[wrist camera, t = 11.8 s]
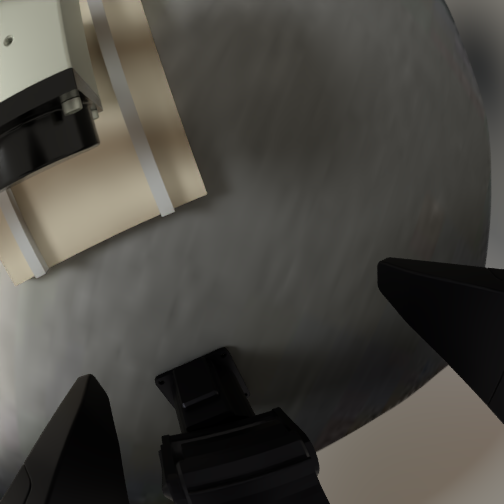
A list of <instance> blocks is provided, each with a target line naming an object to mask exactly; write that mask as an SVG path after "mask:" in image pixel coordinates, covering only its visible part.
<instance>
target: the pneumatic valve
mask: <svg viewBox="0 0 504 504" xmlns="http://www.w3.org/2000/svg"><path fill="white" fill-rule="evenodd" d="M102 111H103V108H102V104H101V100H100V96H99V93H98V89H97V85H96V81H95V77H94V73H93V68H92V64H91V60H90V55H89V51H88V46H87V42H86V37H85V32H84V27H83V21H82V16H81V10H80V4H79V0H0V193H1V192H3V191H5V190H7V189H9V188H11V187H13V186H15V185H17V184H19V183H21V182H23V181H25V180H27V179H29V178H31V177H33V176H35V175H38V174H40V173H42V172H44V171H46V170H48V169H50V168H52V167H54V166H56V165H59V164H61V163H63V162H65V161H67V160H69V159H72V158H74V157H76V156H78V155H80V154H83V153H85V152H87V151H89V150H91V149H93V148H95V147H97V146H99V145H100V139H99V136H98V133H97V129H96V126H95V122H94V120H96V119H98V118H99V115H98V113H99V112H102Z"/></svg>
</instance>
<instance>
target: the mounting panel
mask: <svg viewBox="0 0 504 504" xmlns="http://www.w3.org/2000/svg"><path fill="white" fill-rule="evenodd" d="M79 4H80V10H81V16H82V21H83V27H84V32H85V37H86V42H87V46H88V51H89V55H90V60H91V64H92V68H93V73H94V77H95V81H96V85H97V89H98V93H99V96H100V100H101V104H102V108H103V111H102V112H99V113H98V115H99V118H98V119H96V120H94V122H95V126H96V129H97V133H98V136H99V139H100V145H99V146H97V147H95V148H93V149H91V150H89V151H87V152H85V153H83V154H80V155H78V156H76V157H74V158H72V159H69V160H67V161H65V162H63V163H61V164H59V165H56V166H54V167H52V168H50V169H48V170H46V171H44V172H42V173H40V174H38V175H35V176H33V177H31V178H29V179H27V180H25V181H23V182H21V183H19V184H17V185H15V186H13V187H11V188H9V189H7V190H5V191H3V192H1V193H0V260H1V262H2V264H3V265H4V267H5V269H6V271H7V273H8V274H9V276H10V278H11V280H12V281H13V283H14V285H15V286H17V285H19V284H21V283H23V282H24V281H26V280H28V279H30V278H32V277H34V276H35V277H36V278H38V277H40V276H42V275H44V274H46V272H47V271H48V269H49V268H50V267H52V266H54V265H56V264H58V263H60V262H62V261H64V260H66V259H68V258H70V257H72V256H73V255H75V254H77V253H79V252H81V251H83V250H85V249H87V248H89V247H91V246H93V245H96V244H98V243H100V242H102V241H104V240H106V239H108V238H110V237H112V236H114V235H116V234H118V233H121V232H123V231H125V230H127V229H129V228H131V227H133V226H136V225H138V224H140V223H142V222H144V221H147V220H149V219H151V218H153V217H155V216H158V215H160V214H161V216H162V217H164V216H166V215H168V214H170V213H173V212H175V211H174V208H176V207H178V206H181V205H183V204H185V203H188V202H190V201H192V200H195V199H197V198H199V197H202V196H204V195H207V192H206V189H205V186H204V184H203V181H202V178H201V175H200V173H199V170H198V167H197V164H196V162H195V159H194V156H193V153H192V150H191V148H190V145H189V142H188V139H187V136H186V133H185V131H184V128H183V125H182V122H181V119H180V116H179V113H178V111H177V108H176V105H175V102H174V99H173V96H172V93H171V90H170V87H169V84H168V82H167V79H166V76H165V73H164V70H163V67H162V64H161V61H160V58H159V55H158V52H157V49H156V46H155V43H154V40H153V37H152V34H151V31H150V28H149V25H148V22H147V19H146V15H145V12H144V9H143V6H142V3H141V0H79Z"/></svg>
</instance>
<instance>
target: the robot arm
mask: <svg viewBox="0 0 504 504" xmlns="http://www.w3.org/2000/svg"><path fill="white" fill-rule="evenodd" d="M377 277H378V288H379V290H380V291H381V293H382V294H383V295H384V296H385V297H386V299H387V300H388V301H389V302H390V303H391V305H392V306H393V307H394V308H395V309H396V310H397V312H398V313H399V314H400V315H401V316H402V318H403V319H404V320H405V321H406V322H407V323H408V324H409V325H410V326H411V327H412V328H413V329H414V330H415V331H416V332H417V333H418V334H419V335H420V336H421V337H422V338H423V339H424V340H425V341H426V342H427V343H428V344H429V345H430V346H431V347H432V348H433V349H434V350H435V351H436V352H437V353H438V354H439V355H440V356H441V357H442V358H443V359H444V360H445V361H446V362H447V364H448V365H449V366H450V367H451V368H452V369H453V370H454V371H455V372H456V373H457V374H458V375H459V376H460V377H461V378H462V379H463V380H464V381H465V382H466V383H467V384H468V385H469V387H471V389H472V390H473V391H474V392H475V393H476V394H477V395H478V396H479V397H480V398H481V399H482V401H483V402H484V403H485V404H486V405H487V406H488V407H489V408H490V409H491V410H492V412H493V413H494V414H495V415H496V416H497V417H498V418H499V420H500V421H501V422H502V423H503V424H504V269H495V268H485V267H476V266H467V265H458V264H449V263H439V262H430V261H420V260H411V259H401V258H391V257H389V258H386V259H384V260H382V261H380V262H379V263H378V265H377ZM222 353H225V354H224V355H221V354H222ZM161 380H163V381H162V382H160V381H161ZM155 383H156V385H157V387H158V388H159V389H160V391H161V392H162V393H163V394H164V396H165V397H166V398H167V399H168V401H169V402H170V403H171V404H172V406H173V407H174V408H175V409H176V413H177V417H178V421H179V425H180V429H181V433H182V434H176V435H171V436H169V435H164V436H162V443H163V445H161V450H160V451H159V457H160V462H161V467H162V491H163V494H164V496H166V497H167V498H169V499H171V500H173V501H174V503H175V504H330V503H329V501H328V499H327V497H326V495H325V493H324V491H323V489H322V487H321V485H320V482H319V480H318V477H317V476H318V474H319V462H318V458H317V455H316V452H315V450H314V447H313V445H312V443H311V442H310V440H309V438H308V437H307V436H306V434H305V433H304V432H303V431H302V430H301V429H300V428H299V427H298V426H297V425H296V424H295V423H294V422H293V421H292V420H291V419H290V418H289V417H288V416H287V415H286V414H285V413H284V412H283V410H282V409H281V408H280V407H278V408H274V409H272V411H269V412H265V413H262V414H259V415H255V413H254V412H253V410H252V408H251V406H250V404H249V402H248V400H247V398H248V397H249V396H250V392H249V390H248V388H247V386H246V385H245V383H244V381H243V379H242V377H241V375H240V373H239V371H238V369H237V367H236V365H235V363H234V361H233V359H232V357H231V355H230V353H229V351H228V350H227V348H220V349H217V350H215V351H213V352H211V353H209V354H206V355H204V356H202V357H200V358H197V359H195V360H193V361H191V362H188V363H186V364H184V365H181V366H179V367H177V368H174V369H172V370H170V371H167V372H165V373H163V374H160V375H158V376H156V378H155ZM24 464H25V465H24ZM24 464H23V465H22V467H21V468H20V470H19V472H18V474H17V475H16V477H15V479H14V480H13V482H12V484H11V485H10V487H9V489H8V490H7V492H6V493H5V495H4V496H3V498H2V499H1V501H0V504H129V500H128V495H127V490H126V484H125V479H124V473H123V467H122V460H121V453H120V447H119V442H118V438H117V433H116V429H115V425H114V421H113V416H112V412H111V407H110V402H109V398H108V396H107V394H106V392H105V391H104V389H103V388H102V387H101V385H100V384H99V382H98V381H97V379H96V378H95V377H94V376H93V375H92V374H87V375H84V376H81V377H79V378H78V379H77V380H76V382H75V383H74V385H73V386H72V388H71V389H70V391H69V392H68V394H67V395H66V397H65V398H64V400H63V401H62V403H61V404H60V406H59V407H58V409H57V410H56V412H55V413H54V415H53V416H52V418H51V420H50V421H49V423H48V424H47V426H46V427H45V429H44V431H43V432H42V434H41V435H40V437H39V439H38V440H37V442H36V443H35V445H34V447H33V448H32V450H31V452H30V453H29V455H28V457H27V458H26V460H25V462H24Z"/></svg>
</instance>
